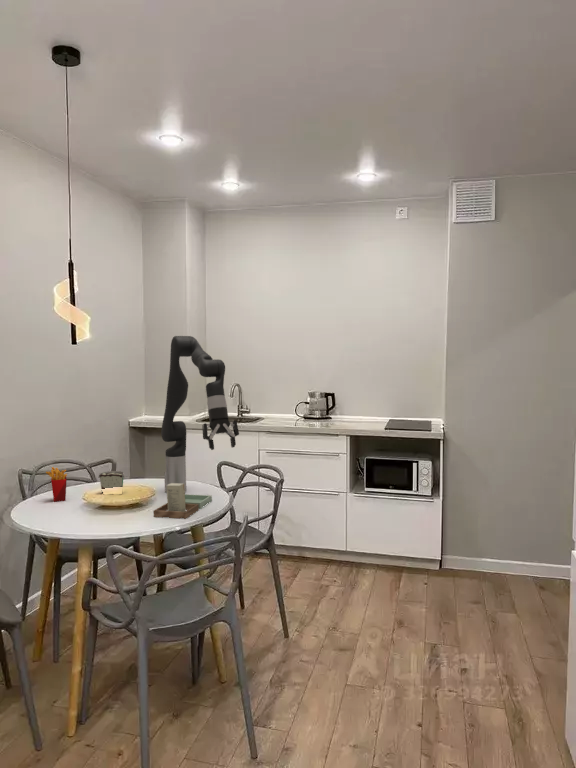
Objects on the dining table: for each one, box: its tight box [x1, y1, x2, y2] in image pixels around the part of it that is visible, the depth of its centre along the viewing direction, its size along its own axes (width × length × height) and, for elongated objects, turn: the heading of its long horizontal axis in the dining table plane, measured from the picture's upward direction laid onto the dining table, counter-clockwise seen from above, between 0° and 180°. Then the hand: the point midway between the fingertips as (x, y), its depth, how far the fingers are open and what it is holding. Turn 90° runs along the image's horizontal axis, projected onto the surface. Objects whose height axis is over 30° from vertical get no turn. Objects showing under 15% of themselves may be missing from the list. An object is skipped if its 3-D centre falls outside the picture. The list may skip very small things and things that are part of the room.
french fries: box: [45, 466, 68, 503], centre depth 269 cm, size 9×8×15 cm
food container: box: [98, 470, 126, 489], centre depth 283 cm, size 12×6×10 cm, turn 84°
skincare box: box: [166, 483, 187, 512], centre depth 246 cm, size 6×4×12 cm
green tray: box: [185, 493, 213, 510], centre depth 260 cm, size 14×13×2 cm
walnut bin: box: [153, 502, 200, 520], centre depth 246 cm, size 14×13×2 cm
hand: (222, 448), depth 237 cm, fingers open, 8 cm apart
